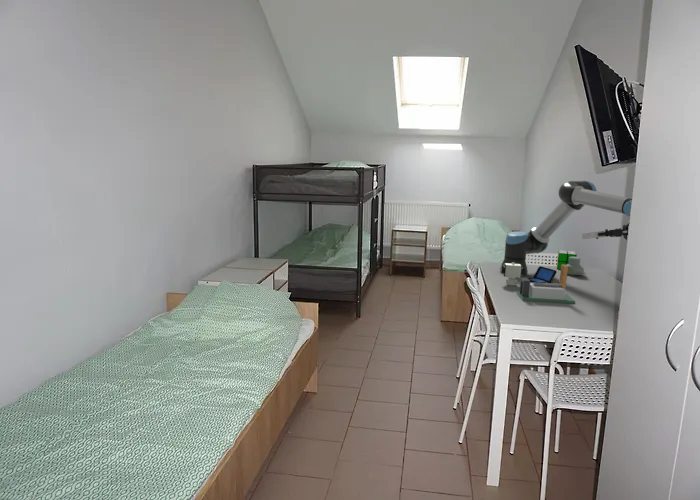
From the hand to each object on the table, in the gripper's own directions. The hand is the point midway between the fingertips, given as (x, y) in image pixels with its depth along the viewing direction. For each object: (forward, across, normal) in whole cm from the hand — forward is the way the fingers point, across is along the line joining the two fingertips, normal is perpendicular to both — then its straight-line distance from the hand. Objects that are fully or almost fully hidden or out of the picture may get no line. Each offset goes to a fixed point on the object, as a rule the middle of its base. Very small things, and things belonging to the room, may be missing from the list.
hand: (585, 235), depth 259 cm
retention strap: (+20, -3, -22) cm, 30 cm away
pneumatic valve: (+34, +21, -21) cm, 45 cm away
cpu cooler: (+22, -2, -28) cm, 36 cm away
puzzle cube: (-5, +73, -18) cm, 75 cm away
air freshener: (-5, +57, -21) cm, 61 cm away
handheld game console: (+18, +32, -22) cm, 43 cm away
